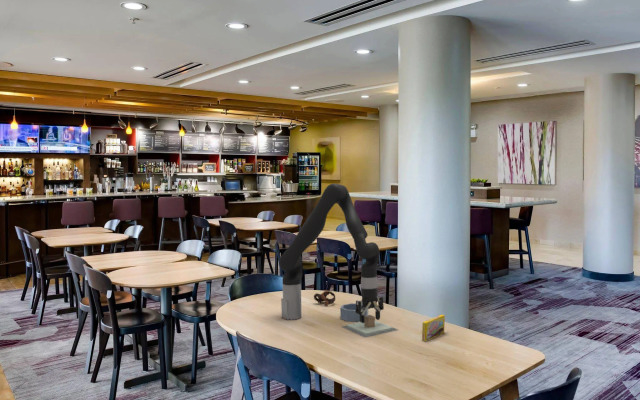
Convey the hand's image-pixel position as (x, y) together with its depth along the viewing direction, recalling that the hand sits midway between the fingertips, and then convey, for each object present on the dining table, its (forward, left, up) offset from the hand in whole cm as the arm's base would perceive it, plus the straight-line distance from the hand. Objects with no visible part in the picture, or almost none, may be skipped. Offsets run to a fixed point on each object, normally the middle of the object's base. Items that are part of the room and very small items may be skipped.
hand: (370, 321), depth 243 cm
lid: (0, 0, -3) cm, 3 cm away
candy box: (+17, -24, -4) cm, 30 cm away
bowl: (+4, +18, -4) cm, 19 cm away
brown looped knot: (+6, +51, -4) cm, 51 cm away
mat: (0, 0, -4) cm, 4 cm away
